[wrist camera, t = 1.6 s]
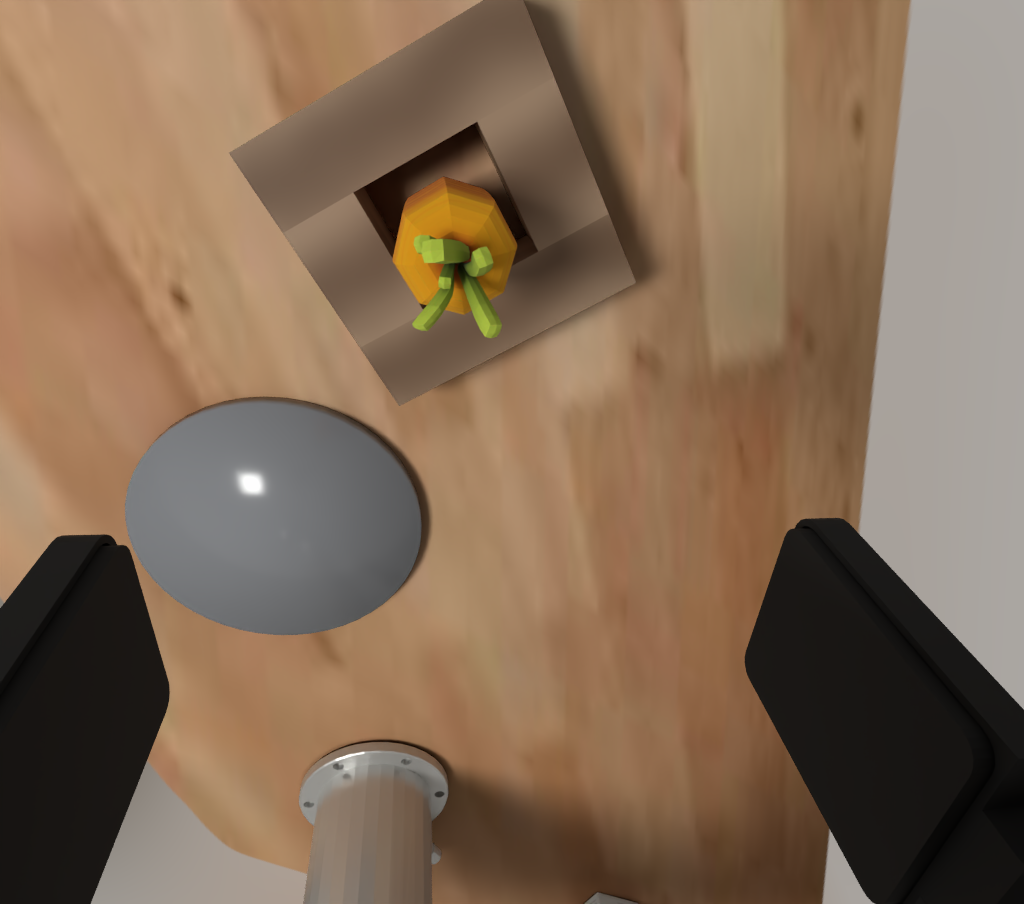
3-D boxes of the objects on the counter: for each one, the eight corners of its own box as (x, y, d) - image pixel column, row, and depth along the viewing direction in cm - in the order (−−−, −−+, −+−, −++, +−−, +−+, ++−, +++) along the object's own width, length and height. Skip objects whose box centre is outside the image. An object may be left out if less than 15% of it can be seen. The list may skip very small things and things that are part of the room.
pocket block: (615, 263, 37) (636, 282, 33) (401, 376, 39) (399, 405, 35) (504, -9, 30) (515, -20, 27) (249, 144, 32) (228, 152, 28)
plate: (469, 556, 46) (469, 565, 45) (254, 659, 48) (251, 670, 47) (318, 344, 37) (315, 350, 36) (64, 482, 39) (55, 491, 39)
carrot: (498, 250, 36) (542, 348, 23) (407, 261, 35) (400, 367, 23) (488, 151, 33) (530, 198, 20) (390, 162, 33) (371, 218, 20)
